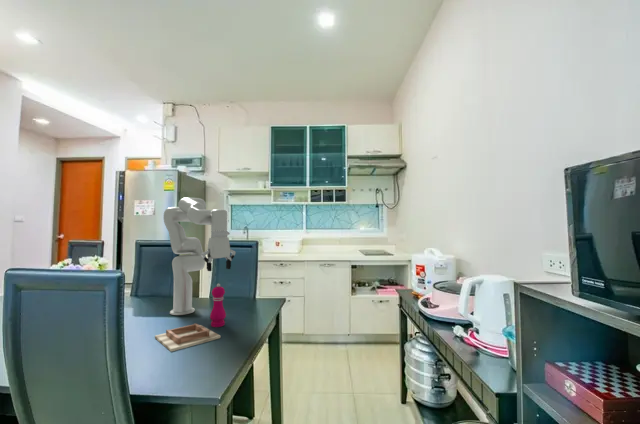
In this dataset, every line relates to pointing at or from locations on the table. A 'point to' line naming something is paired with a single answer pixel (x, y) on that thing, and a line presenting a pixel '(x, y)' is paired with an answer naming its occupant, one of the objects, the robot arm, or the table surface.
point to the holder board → (186, 337)
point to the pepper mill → (218, 307)
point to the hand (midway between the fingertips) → (219, 269)
